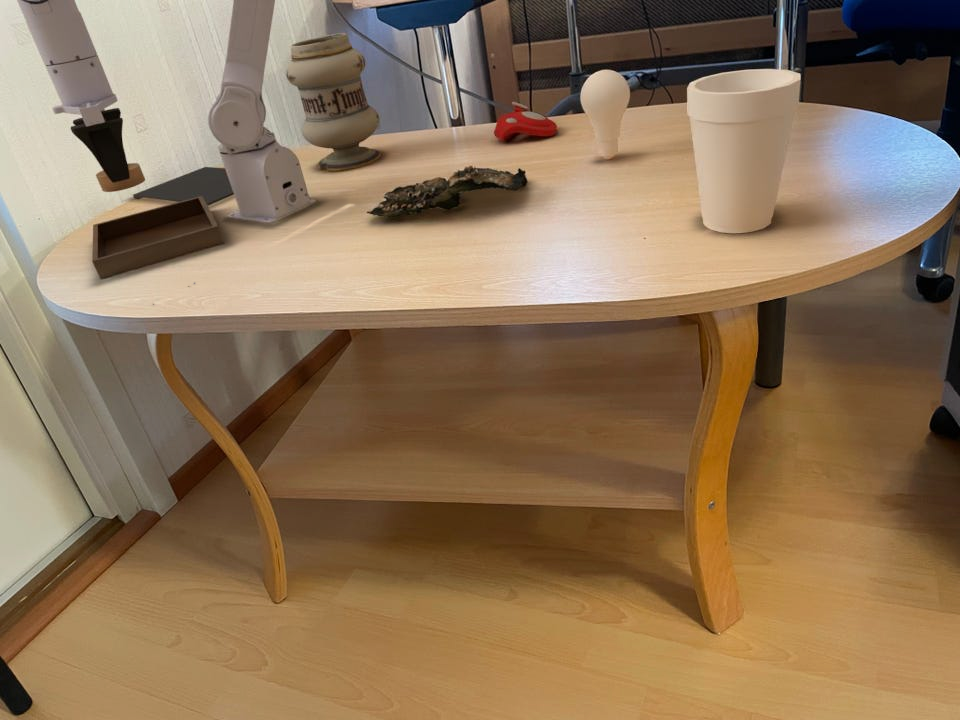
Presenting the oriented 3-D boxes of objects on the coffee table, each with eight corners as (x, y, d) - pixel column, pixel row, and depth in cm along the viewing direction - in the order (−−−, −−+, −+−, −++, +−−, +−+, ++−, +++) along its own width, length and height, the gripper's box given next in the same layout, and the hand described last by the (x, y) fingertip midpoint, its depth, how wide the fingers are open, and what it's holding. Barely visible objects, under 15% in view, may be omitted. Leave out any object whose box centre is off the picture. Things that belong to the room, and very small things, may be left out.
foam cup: (757, 246, 63) (766, 96, 56) (668, 230, 69) (666, 92, 62) (806, 211, 68) (820, 69, 61) (719, 198, 74) (723, 68, 67)
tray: (225, 246, 85) (218, 225, 83) (101, 282, 80) (92, 261, 79) (208, 213, 98) (201, 195, 96) (101, 243, 93) (92, 224, 92)
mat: (282, 175, 109) (281, 172, 109) (209, 207, 100) (207, 203, 100) (206, 170, 120) (205, 166, 120) (134, 198, 111) (132, 194, 111)
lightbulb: (639, 152, 92) (636, 63, 86) (621, 167, 88) (617, 75, 82) (596, 151, 95) (591, 65, 90) (577, 165, 91) (570, 77, 85)
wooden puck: (153, 179, 89) (147, 163, 88) (116, 193, 85) (109, 177, 84) (131, 177, 92) (124, 162, 91) (94, 191, 88) (87, 175, 87)
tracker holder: (572, 123, 106) (518, 123, 100) (564, 151, 108) (512, 153, 103) (526, 96, 113) (475, 95, 108) (520, 124, 116) (470, 124, 111)
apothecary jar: (296, 170, 111) (261, 48, 102) (353, 148, 118) (326, 32, 109) (344, 176, 103) (311, 45, 94) (402, 152, 111) (377, 28, 101)
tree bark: (350, 201, 79) (379, 153, 91) (367, 249, 82) (393, 197, 94) (515, 171, 75) (523, 126, 87) (525, 223, 78) (532, 173, 90)
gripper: (38, 63, 85) (86, 172, 92) (29, 73, 74) (86, 196, 81) (99, 51, 88) (142, 158, 95) (100, 58, 76) (149, 180, 83)
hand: (120, 175), depth 88 cm, fingers closed on wooden puck, 5 cm apart
